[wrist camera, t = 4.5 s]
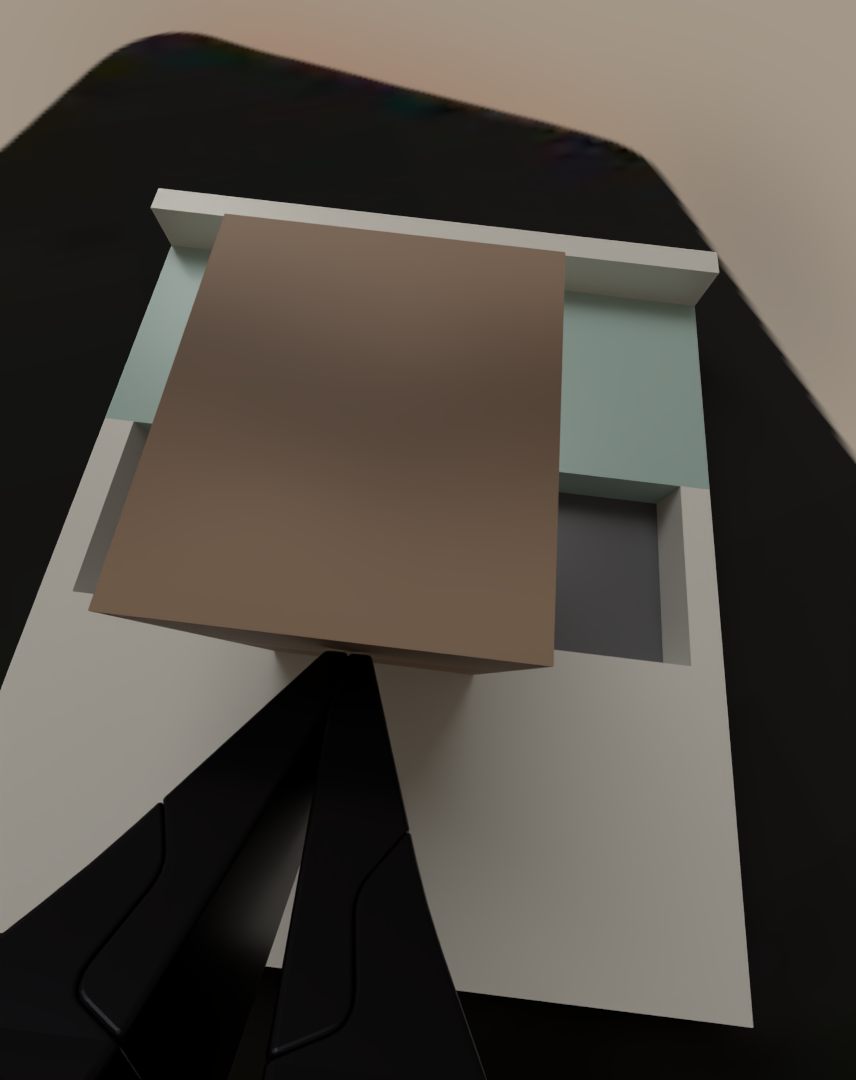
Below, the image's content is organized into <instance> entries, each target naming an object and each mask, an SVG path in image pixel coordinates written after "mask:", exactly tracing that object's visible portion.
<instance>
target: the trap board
mask: <svg viewBox="0 0 856 1080" xmlns="http://www.w3.org/2000/svg"><path fill="white" fill-rule="evenodd" d="M151 209H152V211H153V213H154V214H155V216H156V218H157V220H158V222H159V223H160V225H161V227H162V229H163V231H164V232H165V234H166V236H167V238H168V240H169V241H170V243H171V245H172V246H171V248H170V251H169V253H168V256H167V259H166V261H165V264H164V266H163V269H162V272H161V274H160V277H159V279H158V282H157V285H156V287H155V290H154V292H153V295H152V298H151V300H150V303H149V305H148V308H147V311H146V313H145V316H144V318H143V321H142V324H141V326H140V329H139V331H138V334H137V337H136V339H135V342H134V344H133V347H132V350H131V352H130V355H129V357H128V360H127V363H126V365H125V368H124V370H123V373H122V376H121V378H120V381H119V383H118V386H117V389H116V391H115V394H114V396H113V399H112V402H111V404H110V407H109V409H108V412H107V415H106V417H105V420H104V422H103V425H102V428H101V430H100V433H99V435H98V438H97V441H96V443H95V446H94V448H93V451H92V454H91V456H90V459H89V461H88V464H87V467H86V469H85V472H84V474H83V477H82V480H81V482H80V485H79V487H78V490H77V493H76V495H75V498H74V500H73V503H72V506H71V508H70V511H69V513H68V516H67V519H66V521H65V524H64V526H63V529H62V532H61V534H60V537H59V539H58V542H57V545H56V547H55V550H54V552H53V555H52V558H51V560H50V563H49V565H48V568H47V571H46V573H45V576H44V578H43V581H42V584H41V586H40V589H39V591H38V594H37V597H36V599H35V602H34V604H33V607H32V610H31V612H30V615H29V617H28V620H27V623H26V625H25V628H24V630H23V633H22V636H21V638H20V641H19V643H18V646H17V649H16V651H15V654H14V656H13V659H12V662H11V664H10V667H9V669H8V672H7V675H6V677H5V680H4V682H3V685H2V688H1V690H0V933H3V932H4V931H6V930H7V929H8V928H10V927H11V926H12V925H13V924H15V923H16V922H17V921H18V920H20V919H21V918H22V917H24V916H25V915H26V914H27V913H29V912H30V911H31V910H32V909H34V908H35V907H36V906H38V905H39V904H40V903H41V902H43V901H44V900H45V899H46V898H48V897H49V896H50V895H51V894H52V893H54V892H55V891H56V890H57V889H59V888H60V887H61V886H62V885H64V884H65V883H66V882H67V881H68V880H70V879H71V878H72V877H73V876H75V875H76V874H77V873H78V872H80V871H81V870H82V869H83V868H84V867H86V866H87V865H88V864H89V863H91V862H92V861H93V860H94V859H95V858H97V857H98V856H99V855H100V854H101V853H102V852H103V851H104V850H106V849H107V848H108V847H109V846H110V845H111V844H112V843H114V842H115V841H116V840H117V839H118V838H119V837H120V836H122V835H123V834H124V833H125V832H126V831H127V830H128V829H130V828H131V827H132V826H133V825H134V824H135V823H136V822H137V821H139V820H140V819H141V818H142V817H143V816H144V815H145V814H146V813H147V812H148V811H150V810H151V809H152V808H153V807H154V806H155V805H156V804H157V803H159V802H161V803H163V799H164V797H165V796H166V795H167V794H169V793H170V792H171V791H172V790H173V789H174V788H175V787H176V786H177V785H178V784H179V783H181V782H182V781H183V780H184V779H185V778H186V777H187V776H188V775H189V774H190V773H192V772H193V771H194V770H195V769H196V768H197V767H198V766H199V765H200V764H201V763H202V762H204V761H205V760H206V759H207V758H208V757H209V756H210V755H211V754H212V753H213V752H215V751H216V750H217V749H218V748H219V747H220V746H221V745H222V744H223V743H224V742H226V741H227V740H228V739H229V738H230V737H231V736H232V735H233V734H234V733H235V732H236V731H238V730H239V729H240V728H241V727H242V726H243V725H244V724H245V723H246V722H247V721H249V720H250V719H251V718H252V717H253V716H254V715H255V714H256V713H257V712H258V711H259V710H261V709H262V708H263V707H264V706H265V705H266V704H267V703H268V702H269V701H270V700H272V699H273V698H274V697H275V696H276V695H277V694H278V693H279V692H280V691H281V690H283V689H284V688H285V687H286V686H287V685H288V684H289V683H290V682H291V681H292V680H293V679H295V678H296V677H297V676H298V675H299V674H300V673H301V672H302V671H303V670H304V669H306V668H307V667H308V666H309V665H310V664H311V663H312V662H313V661H314V660H315V659H316V658H318V657H319V656H313V655H304V654H296V653H288V652H279V651H272V650H268V649H263V648H258V647H254V646H249V645H244V644H240V643H235V642H230V641H226V640H221V639H217V638H212V637H207V636H203V635H198V634H193V633H189V632H184V631H179V630H175V629H170V628H165V627H161V626H156V625H151V624H147V623H142V622H137V621H133V620H128V619H123V618H119V617H114V616H109V615H105V614H100V613H95V612H91V611H88V609H89V606H90V603H91V600H92V597H93V594H94V591H95V588H96V585H97V582H98V580H99V577H100V574H101V571H102V568H103V565H104V562H105V559H106V556H107V553H108V550H109V548H110V545H111V542H112V539H113V536H114V533H115V530H116V527H117V524H118V521H119V519H120V516H121V513H122V510H123V507H124V504H125V501H126V498H127V495H128V492H129V490H130V487H131V484H132V481H133V478H134V475H135V472H136V469H137V466H138V463H139V461H140V458H141V455H142V452H143V449H144V446H145V443H146V440H147V437H148V434H149V431H150V429H151V426H152V423H153V420H154V417H155V414H156V411H157V408H158V405H159V402H160V400H161V397H162V394H163V391H164V388H165V385H166V382H167V379H168V376H169V373H170V371H171V368H172V365H173V362H174V359H175V356H176V353H177V350H178V347H179V344H180V342H181V339H182V336H183V333H184V330H185V327H186V324H187V321H188V318H189V315H190V312H191V310H192V307H193V304H194V301H195V298H196V295H197V292H198V289H199V286H200V283H201V281H202V278H203V275H204V272H205V269H206V266H207V263H208V260H209V257H210V254H211V252H212V249H213V246H214V243H215V240H216V237H217V234H218V231H219V228H220V225H221V223H222V220H223V217H224V214H233V215H242V216H251V217H260V218H268V219H277V220H286V221H295V222H304V223H312V224H321V225H330V226H339V227H348V228H356V229H365V230H374V231H383V232H392V233H401V234H409V235H418V236H427V237H436V238H445V239H453V240H462V241H471V242H480V243H489V244H498V245H506V246H515V247H524V248H533V249H542V250H550V251H559V252H565V285H564V319H563V354H562V389H561V423H560V458H559V493H558V527H557V562H556V597H555V631H554V666H553V667H546V668H536V669H526V670H517V671H507V672H497V673H488V674H478V675H471V674H462V673H454V672H446V671H437V670H429V669H421V668H412V667H404V666H396V665H388V664H379V663H373V664H374V668H375V673H376V678H377V682H378V687H379V691H380V696H381V700H382V705H383V709H384V714H385V719H386V723H387V728H388V732H389V737H390V741H391V746H392V750H393V755H394V759H395V764H396V769H397V773H398V778H399V782H400V787H401V791H402V796H403V800H404V805H405V810H406V814H407V819H408V823H409V828H410V830H409V833H410V834H411V836H412V840H413V845H414V849H415V854H416V858H417V863H418V867H419V871H420V875H421V878H422V882H423V886H424V890H425V894H426V898H427V902H428V906H429V909H430V912H431V915H432V919H433V922H434V925H435V928H436V931H437V935H438V938H439V941H440V944H441V947H442V951H443V954H444V957H445V960H446V962H447V965H448V968H449V971H450V974H451V977H452V980H453V983H454V986H455V989H456V990H457V991H465V992H473V993H481V994H489V995H497V996H505V997H513V998H521V999H529V1000H537V1001H545V1002H553V1003H561V1004H568V1005H576V1006H584V1007H592V1008H600V1009H608V1010H616V1011H624V1012H632V1013H640V1014H648V1015H656V1016H664V1017H671V1018H679V1019H687V1020H695V1021H703V1022H711V1023H719V1024H727V1025H735V1026H743V1027H751V1028H753V1019H752V1006H751V994H750V982H749V969H748V957H747V945H746V932H745V920H744V908H743V896H742V883H741V871H740V859H739V846H738V834H737V822H736V810H735V797H734V785H733V773H732V760H731V748H730V736H729V723H728V711H727V699H726V687H725V674H724V662H723V650H722V637H721V625H720V613H719V601H718V588H717V576H716V564H715V551H714V539H713V527H712V514H711V502H710V490H709V478H708V465H707V453H706V441H705V428H704V416H703V404H702V392H701V379H700V367H699V355H698V342H697V330H696V318H695V305H696V303H697V302H698V301H699V299H700V298H701V297H702V295H703V294H704V293H705V291H706V290H707V289H708V287H709V286H710V285H711V283H712V282H713V280H714V279H715V278H716V276H717V275H718V274H719V268H718V259H717V252H708V251H699V250H691V249H682V248H673V247H665V246H656V245H647V244H639V243H630V242H621V241H612V240H604V239H595V238H586V237H578V236H569V235H560V234H552V233H543V232H534V231H525V230H517V229H508V228H499V227H491V226H482V225H473V224H465V223H456V222H447V221H439V220H430V219H421V218H412V217H404V216H395V215H386V214H378V213H369V212H360V211H352V210H343V209H334V208H325V207H317V206H308V205H299V204H291V203H282V202H273V201H265V200H256V199H247V198H239V197H230V196H221V195H212V194H204V193H195V192H186V191H178V190H169V189H160V188H159V189H158V191H157V194H156V196H155V198H154V201H153V203H152V206H151ZM299 869H300V866H299ZM299 869H298V872H297V875H296V878H295V881H294V884H293V887H292V890H291V893H290V896H289V899H288V902H287V904H286V907H285V910H284V913H283V916H282V919H281V922H280V925H279V928H278V931H277V934H276V937H275V940H274V943H273V946H272V949H271V952H270V955H269V957H268V960H267V963H266V966H267V967H275V968H282V964H283V958H284V953H285V947H286V941H287V936H288V930H289V925H290V919H291V913H292V908H293V902H294V897H295V891H296V885H297V880H298V874H299Z"/></svg>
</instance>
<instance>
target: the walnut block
mask: <svg viewBox="0 0 856 1080" xmlns="http://www.w3.org/2000/svg"><path fill="white" fill-rule="evenodd" d="M564 285H565V252H559V251H550V250H542V249H533V248H524V247H515V246H506V245H498V244H489V243H480V242H471V241H462V240H453V239H445V238H436V237H427V236H418V235H409V234H401V233H392V232H383V231H374V230H365V229H356V228H348V227H339V226H330V225H321V224H312V223H304V222H295V221H286V220H277V219H268V218H260V217H251V216H242V215H233V214H224V217H223V220H222V223H221V225H220V228H219V231H218V234H217V237H216V240H215V243H214V246H213V249H212V252H211V254H210V257H209V260H208V263H207V266H206V269H205V272H204V275H203V278H202V281H201V283H200V286H199V289H198V292H197V295H196V298H195V301H194V304H193V307H192V310H191V312H190V315H189V318H188V321H187V324H186V327H185V330H184V333H183V336H182V339H181V342H180V344H179V347H178V350H177V353H176V356H175V359H174V362H173V365H172V368H171V371H170V373H169V376H168V379H167V382H166V385H165V388H164V391H163V394H162V397H161V400H160V402H159V405H158V408H157V411H156V414H155V417H154V420H153V423H152V426H151V429H150V431H149V434H148V437H147V440H146V443H145V446H144V449H143V452H142V455H141V458H140V461H139V463H138V466H137V469H136V472H135V475H134V478H133V481H132V484H131V487H130V490H129V492H128V495H127V498H126V501H125V504H124V507H123V510H122V513H121V516H120V519H119V521H118V524H117V527H116V530H115V533H114V536H113V539H112V542H111V545H110V548H109V550H108V553H107V556H106V559H105V562H104V565H103V568H102V571H101V574H100V577H99V580H98V582H97V585H96V588H95V591H94V594H93V597H92V600H91V603H90V606H89V609H88V611H91V612H95V613H100V614H105V615H109V616H114V617H119V618H123V619H128V620H133V621H137V622H142V623H147V624H151V625H156V626H161V627H165V628H170V629H175V630H179V631H184V632H189V633H193V634H198V635H203V636H207V637H212V638H217V639H221V640H226V641H230V642H235V643H240V644H244V645H249V646H254V647H258V648H263V649H268V650H272V651H279V652H288V653H296V654H304V655H313V656H320V655H321V654H322V653H323V652H325V651H327V650H330V651H339V652H345V653H347V654H348V656H349V655H350V654H351V653H355V654H364V655H370V656H371V657H372V659H373V663H379V664H388V665H396V666H404V667H412V668H421V669H429V670H437V671H446V672H454V673H462V674H471V675H478V674H488V673H497V672H507V671H517V670H526V669H536V668H546V667H553V666H554V631H555V597H556V562H557V527H558V493H559V458H560V423H561V389H562V354H563V319H564Z"/></svg>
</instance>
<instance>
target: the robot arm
mask: <svg viewBox="0 0 856 1080" xmlns="http://www.w3.org/2000/svg"><path fill="white" fill-rule="evenodd" d="M409 830H410V828H409V823H408V819H407V814H406V810H405V805H404V800H403V796H402V791H401V787H400V782H399V778H398V773H397V769H396V764H395V759H394V755H393V750H392V746H391V741H390V737H389V732H388V728H387V723H386V719H385V714H384V709H383V705H382V700H381V696H380V691H379V687H378V682H377V678H376V673H375V668H374V664H373V659H372V657H371V656H370V655H364V654H355V653H351V654H350V655H349V656H348V654H347V653H345V652H339V651H330V650H327V651H325V652H323V653H322V654H321V655H320V656H319V657H318V658H316V659H315V660H314V661H313V662H312V663H311V664H310V665H309V666H308V667H307V668H306V669H304V670H303V671H302V672H301V673H300V674H299V675H298V676H297V677H296V678H295V679H293V680H292V681H291V682H290V683H289V684H288V685H287V686H286V687H285V688H284V689H283V690H281V691H280V692H279V693H278V694H277V695H276V696H275V697H274V698H273V699H272V700H270V701H269V702H268V703H267V704H266V705H265V706H264V707H263V708H262V709H261V710H259V711H258V712H257V713H256V714H255V715H254V716H253V717H252V718H251V719H250V720H249V721H247V722H246V723H245V724H244V725H243V726H242V727H241V728H240V729H239V730H238V731H236V732H235V733H234V734H233V735H232V736H231V737H230V738H229V739H228V740H227V741H226V742H224V743H223V744H222V745H221V746H220V747H219V748H218V749H217V750H216V751H215V752H213V753H212V754H211V755H210V756H209V757H208V758H207V759H206V760H205V761H204V762H202V763H201V764H200V765H199V766H198V767H197V768H196V769H195V770H194V771H193V772H192V773H190V774H189V775H188V776H187V777H186V778H185V779H184V780H183V781H182V782H181V783H179V784H178V785H177V786H176V787H175V788H174V789H173V790H172V791H171V792H170V793H169V794H167V795H166V796H165V797H164V799H163V803H161V802H159V803H157V804H156V805H155V806H154V807H153V808H152V809H151V810H150V811H148V812H147V813H146V814H145V815H144V816H143V817H142V818H141V819H140V820H139V821H137V822H136V823H135V824H134V825H133V826H132V827H131V828H130V829H128V830H127V831H126V832H125V833H124V834H123V835H122V836H120V837H119V838H118V839H117V840H116V841H115V842H114V843H112V844H111V845H110V846H109V847H108V848H107V849H106V850H104V851H103V852H102V853H101V854H100V855H99V856H98V857H97V858H95V859H94V860H93V861H92V862H91V863H89V864H88V865H87V866H86V867H84V868H83V869H82V870H81V871H80V872H78V873H77V874H76V875H75V876H73V877H72V878H71V879H70V880H68V881H67V882H66V883H65V884H64V885H62V886H61V887H60V888H59V889H57V890H56V891H55V892H54V893H52V894H51V895H50V896H49V897H48V898H46V899H45V900H44V901H43V902H41V903H40V904H39V905H38V906H36V907H35V908H34V909H32V910H31V911H30V912H29V913H27V914H26V915H25V916H24V917H22V918H21V919H20V920H18V921H17V922H16V923H15V924H13V925H12V926H11V927H10V928H8V929H7V930H6V931H4V932H3V933H2V934H1V935H0V1080H227V1078H228V1075H229V1072H230V1069H231V1066H232V1063H233V1060H234V1058H235V1055H236V1052H237V1049H238V1046H239V1043H240V1040H241V1037H242V1034H243V1031H244V1028H245V1025H246V1022H247V1019H248V1016H249V1013H250V1010H251V1008H252V1005H253V1002H254V999H255V996H256V993H257V990H258V987H259V984H260V981H261V978H262V975H263V972H264V969H265V966H266V963H267V960H268V957H269V955H270V952H271V949H272V946H273V943H274V940H275V937H276V934H277V931H278V928H279V925H280V922H281V919H282V916H283V913H284V910H285V907H286V904H287V902H288V899H289V896H290V893H291V890H292V887H293V884H294V881H295V878H296V875H297V872H298V869H299V866H300V869H299V874H298V880H297V885H296V891H295V897H294V902H293V908H292V913H291V919H290V925H289V930H288V936H287V941H286V947H285V953H284V958H283V964H282V969H281V975H280V981H279V986H278V992H277V997H276V1003H275V1009H274V1014H273V1020H272V1025H271V1031H270V1037H269V1042H268V1048H267V1053H266V1061H267V1064H266V1065H265V1067H264V1071H263V1076H262V1080H487V1078H486V1075H485V1073H484V1070H483V1067H482V1064H481V1061H480V1058H479V1055H478V1052H477V1049H476V1046H475V1044H474V1041H473V1038H472V1035H471V1032H470V1029H469V1026H468V1023H467V1020H466V1017H465V1015H464V1012H463V1009H462V1006H461V1003H460V1000H459V997H458V994H457V991H456V989H455V986H454V983H453V980H452V977H451V974H450V971H449V968H448V965H447V962H446V960H445V957H444V954H443V951H442V947H441V944H440V941H439V938H438V935H437V931H436V928H435V925H434V922H433V919H432V915H431V912H430V909H429V906H428V902H427V898H426V894H425V890H424V886H423V882H422V878H421V875H420V871H419V867H418V863H417V858H416V854H415V849H414V845H413V840H412V836H411V834H410V833H409Z"/></svg>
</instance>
